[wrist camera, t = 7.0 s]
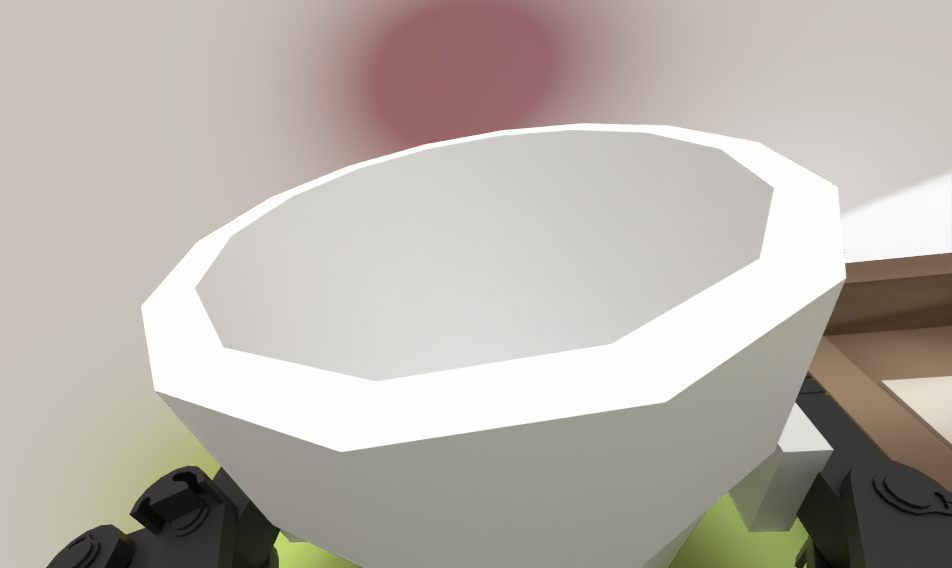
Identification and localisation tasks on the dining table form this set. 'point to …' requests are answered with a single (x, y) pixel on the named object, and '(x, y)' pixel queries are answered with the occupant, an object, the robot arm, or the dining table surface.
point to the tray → (895, 358)
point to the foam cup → (505, 343)
